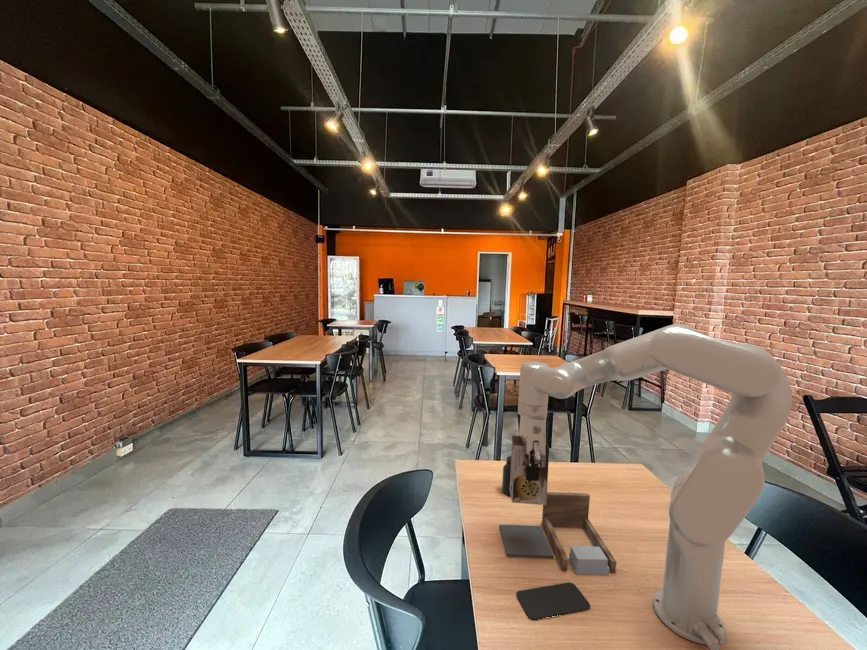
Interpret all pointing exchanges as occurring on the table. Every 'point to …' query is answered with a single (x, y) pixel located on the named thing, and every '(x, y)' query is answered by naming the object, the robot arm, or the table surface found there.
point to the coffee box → (518, 484)
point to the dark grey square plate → (525, 541)
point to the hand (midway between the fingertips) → (528, 472)
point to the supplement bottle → (506, 477)
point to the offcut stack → (588, 560)
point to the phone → (552, 601)
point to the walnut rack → (571, 523)
